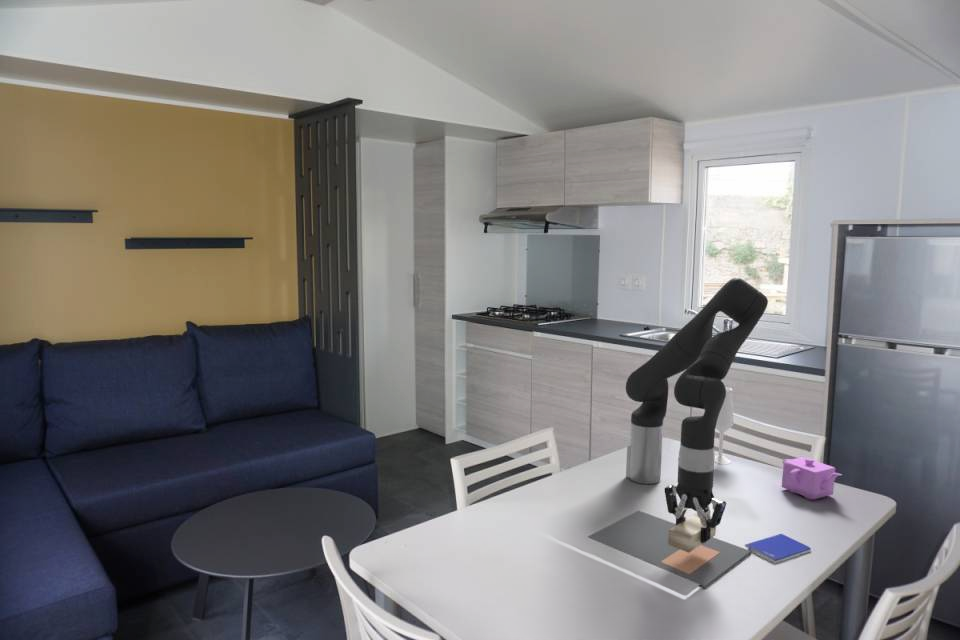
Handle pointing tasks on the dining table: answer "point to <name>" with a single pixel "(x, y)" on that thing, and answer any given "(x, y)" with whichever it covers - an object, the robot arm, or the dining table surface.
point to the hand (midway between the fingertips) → (692, 537)
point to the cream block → (687, 534)
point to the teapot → (808, 477)
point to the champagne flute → (724, 424)
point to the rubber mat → (670, 548)
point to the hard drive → (778, 548)
